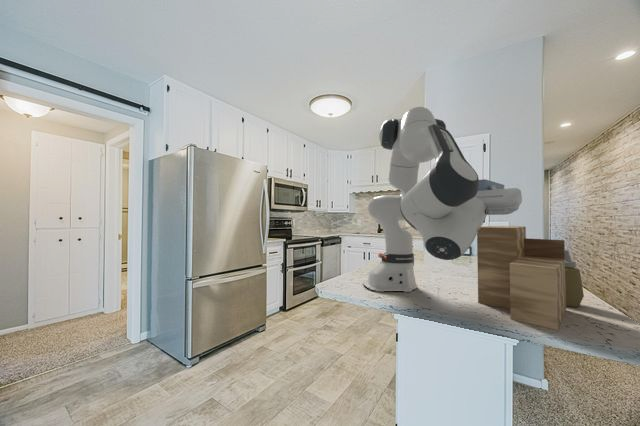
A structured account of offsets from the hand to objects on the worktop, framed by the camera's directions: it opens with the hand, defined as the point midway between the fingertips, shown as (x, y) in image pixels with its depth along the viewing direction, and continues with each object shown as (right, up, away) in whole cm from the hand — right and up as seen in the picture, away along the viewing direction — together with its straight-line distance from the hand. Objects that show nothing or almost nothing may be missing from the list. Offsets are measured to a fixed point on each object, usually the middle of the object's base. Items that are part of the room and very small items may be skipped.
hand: (480, 188), depth 72 cm
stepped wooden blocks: (+18, -38, +10) cm, 43 cm away
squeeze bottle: (+38, -38, +14) cm, 55 cm away
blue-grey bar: (+4, -3, +4) cm, 7 cm away
